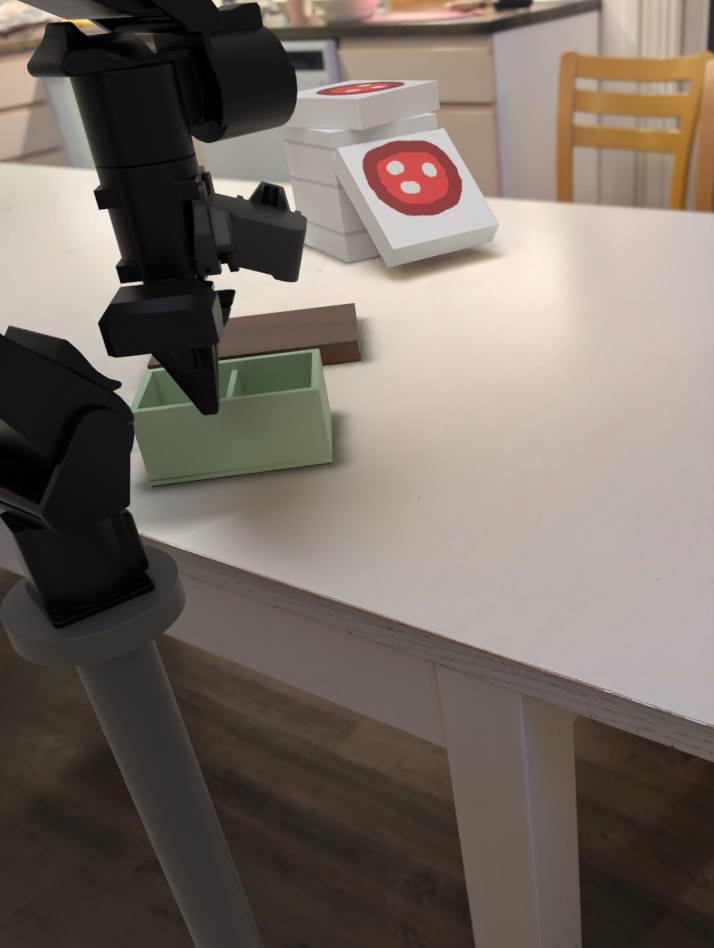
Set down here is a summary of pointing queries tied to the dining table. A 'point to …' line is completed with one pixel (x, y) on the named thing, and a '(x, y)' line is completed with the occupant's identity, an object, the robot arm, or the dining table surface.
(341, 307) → the bread board
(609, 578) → the dining table surface
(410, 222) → the pizza boxes
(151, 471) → the cutlery holder
